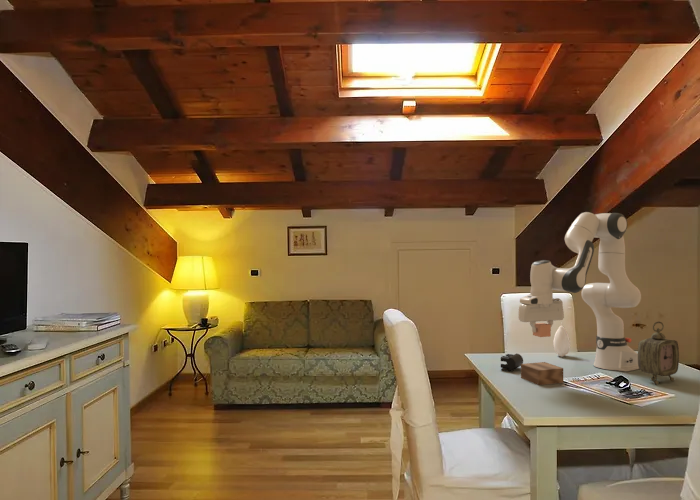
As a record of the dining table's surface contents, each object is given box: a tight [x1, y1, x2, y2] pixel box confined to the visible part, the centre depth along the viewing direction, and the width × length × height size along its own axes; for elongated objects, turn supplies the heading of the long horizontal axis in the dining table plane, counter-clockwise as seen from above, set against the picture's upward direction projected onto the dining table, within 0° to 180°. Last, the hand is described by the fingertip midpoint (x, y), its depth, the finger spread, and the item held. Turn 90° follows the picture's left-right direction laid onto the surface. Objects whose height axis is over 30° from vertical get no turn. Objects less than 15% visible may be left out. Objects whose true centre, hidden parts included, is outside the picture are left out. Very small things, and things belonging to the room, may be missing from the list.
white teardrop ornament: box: [553, 320, 571, 358], centre depth 261 cm, size 8×8×18 cm
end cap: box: [500, 353, 524, 373], centre depth 235 cm, size 10×7×7 cm
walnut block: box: [520, 361, 564, 386], centre depth 216 cm, size 12×12×6 cm
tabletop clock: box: [637, 321, 680, 385], centre depth 212 cm, size 14×9×25 cm, turn 117°
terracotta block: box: [532, 322, 552, 338], centre depth 216 cm, size 5×5×5 cm
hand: (541, 331), depth 216 cm, fingers closed on terracotta block, 5 cm apart
